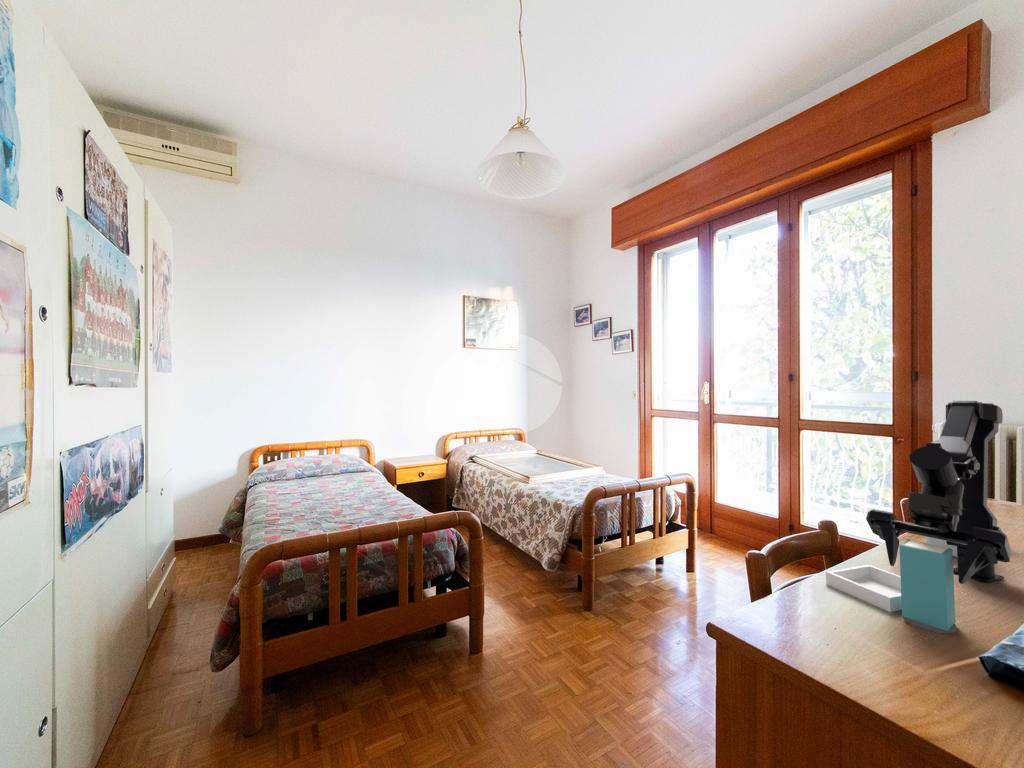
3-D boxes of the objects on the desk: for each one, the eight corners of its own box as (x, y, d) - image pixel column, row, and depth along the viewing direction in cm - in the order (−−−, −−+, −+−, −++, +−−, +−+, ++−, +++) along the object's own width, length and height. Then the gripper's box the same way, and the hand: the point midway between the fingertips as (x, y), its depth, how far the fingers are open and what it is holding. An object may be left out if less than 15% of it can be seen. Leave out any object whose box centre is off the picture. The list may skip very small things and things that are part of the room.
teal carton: (910, 608, 82) (908, 539, 82) (955, 622, 77) (952, 548, 77) (902, 616, 79) (899, 544, 79) (947, 631, 74) (944, 554, 74)
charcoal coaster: (919, 612, 82) (919, 607, 82) (966, 631, 75) (966, 626, 75) (892, 618, 80) (892, 612, 80) (938, 638, 73) (938, 632, 73)
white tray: (869, 577, 97) (868, 564, 97) (936, 604, 85) (936, 588, 85) (826, 585, 94) (825, 571, 94) (890, 613, 82) (889, 598, 82)
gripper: (867, 469, 88) (847, 534, 82) (1004, 484, 73) (993, 566, 66) (883, 501, 92) (865, 565, 86) (1015, 523, 77) (1005, 602, 71)
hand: (924, 573), depth 77 cm, fingers open, 9 cm apart
